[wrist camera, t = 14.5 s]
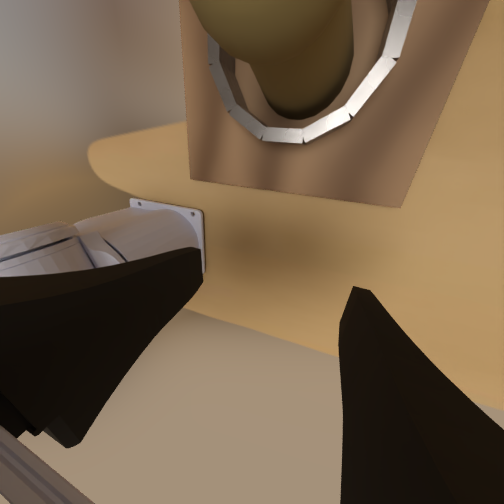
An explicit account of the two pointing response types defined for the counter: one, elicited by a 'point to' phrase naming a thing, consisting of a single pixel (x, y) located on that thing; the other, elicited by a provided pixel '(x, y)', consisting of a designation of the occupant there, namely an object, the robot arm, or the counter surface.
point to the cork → (286, 47)
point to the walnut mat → (348, 137)
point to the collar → (399, 18)
